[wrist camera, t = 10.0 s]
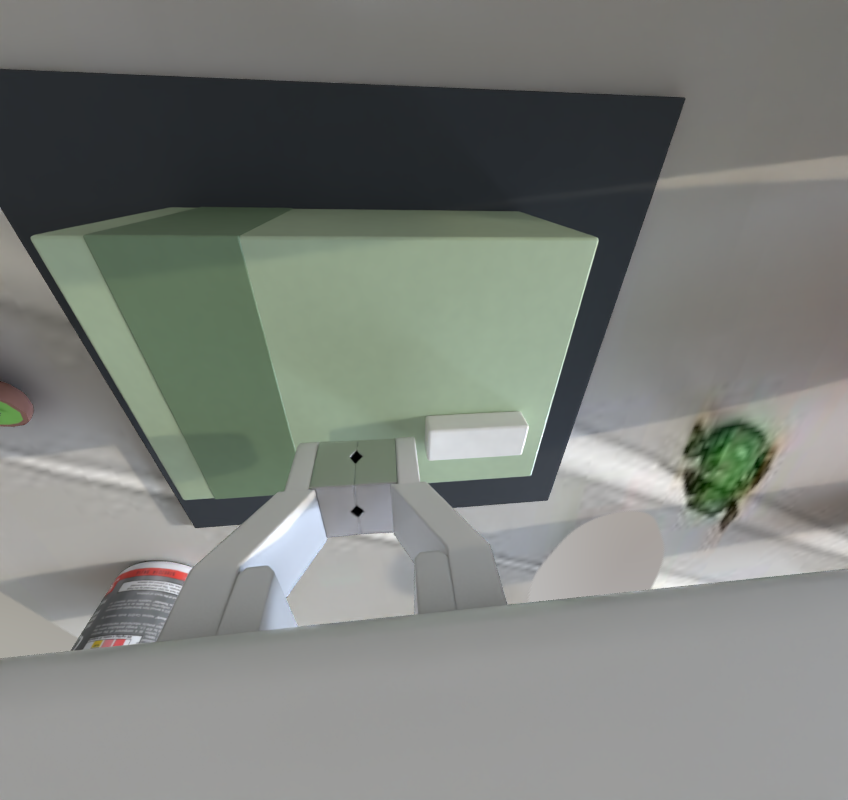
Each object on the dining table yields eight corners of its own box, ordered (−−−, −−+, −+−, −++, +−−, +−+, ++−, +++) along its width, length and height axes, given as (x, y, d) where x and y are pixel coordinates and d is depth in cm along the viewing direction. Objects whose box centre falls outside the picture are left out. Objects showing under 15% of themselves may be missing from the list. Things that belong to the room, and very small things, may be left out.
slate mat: (545, 495, 23) (548, 500, 22) (198, 522, 21) (194, 528, 20) (677, 99, 11) (686, 97, 11) (-71, 68, 9) (-88, 65, 9)
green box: (540, 494, 12) (621, 243, 7) (170, 522, 11) (-14, 242, 6) (491, 393, 17) (520, 210, 12) (239, 405, 16) (168, 206, 11)
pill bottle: (104, 559, 22) (-62, 796, 13) (201, 555, 22) (99, 777, 14) (139, 603, 25) (21, 816, 17) (222, 598, 26) (148, 799, 17)
